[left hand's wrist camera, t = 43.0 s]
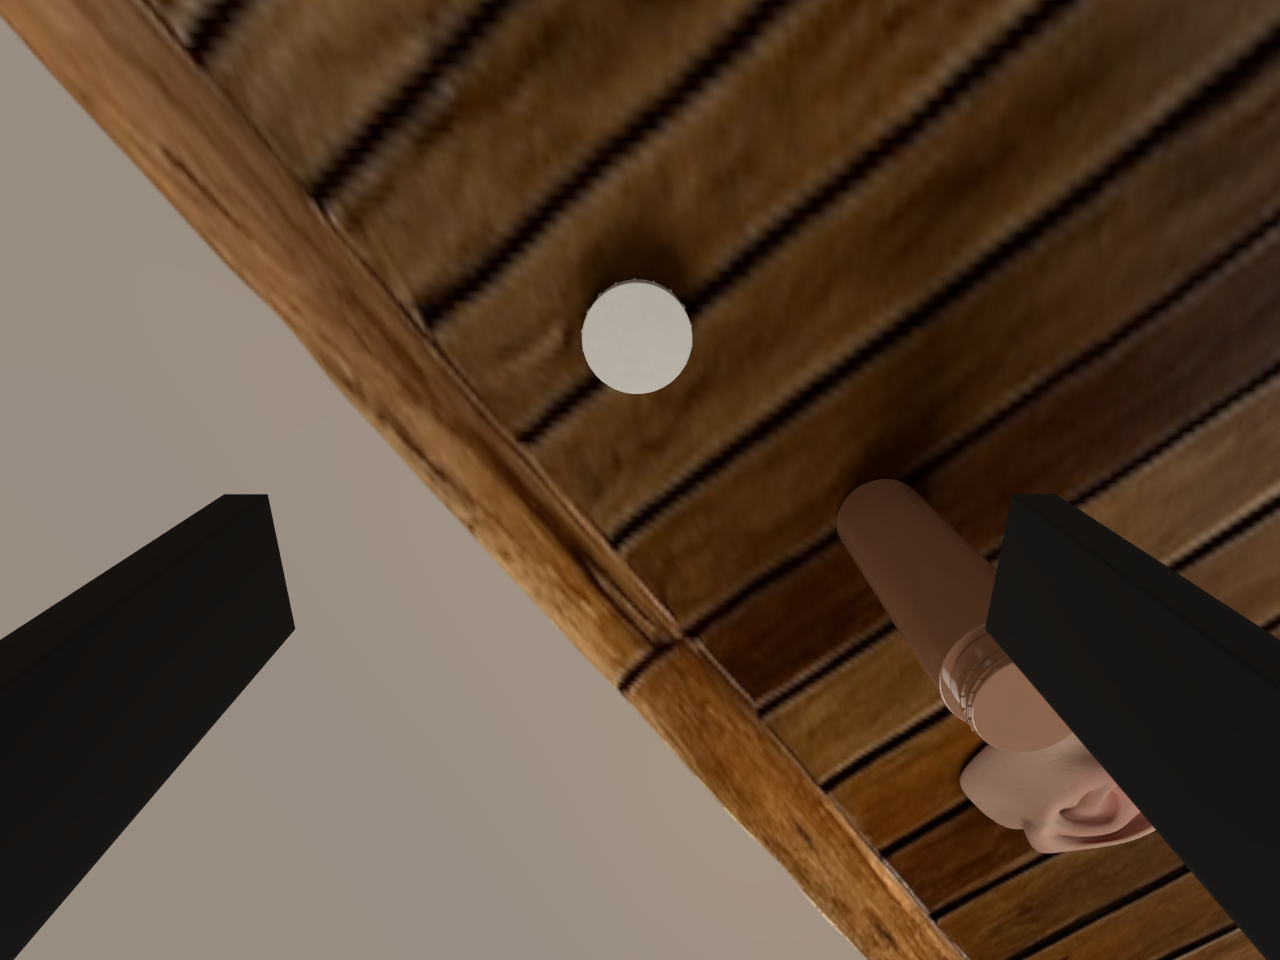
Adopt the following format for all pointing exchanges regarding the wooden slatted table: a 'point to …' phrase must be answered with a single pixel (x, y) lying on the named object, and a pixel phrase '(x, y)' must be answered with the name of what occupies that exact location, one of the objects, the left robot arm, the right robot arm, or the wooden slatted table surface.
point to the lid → (637, 336)
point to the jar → (944, 613)
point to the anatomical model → (1053, 797)
